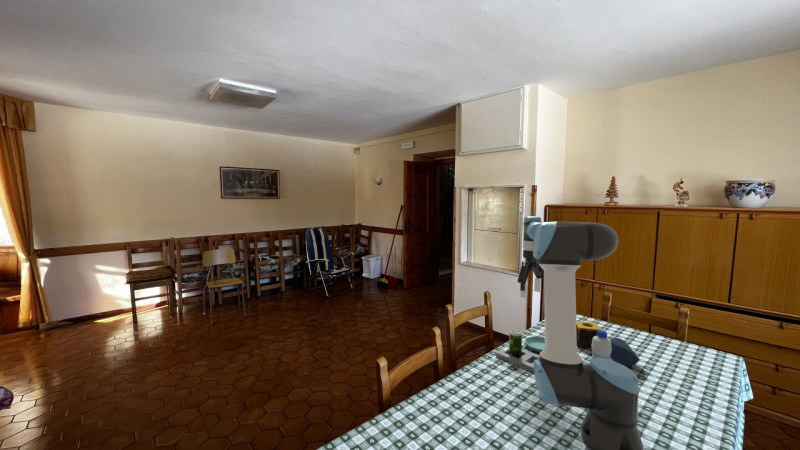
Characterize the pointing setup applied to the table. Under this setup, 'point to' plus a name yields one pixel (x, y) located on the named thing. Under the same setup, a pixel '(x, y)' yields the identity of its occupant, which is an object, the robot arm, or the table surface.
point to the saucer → (536, 343)
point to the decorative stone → (622, 353)
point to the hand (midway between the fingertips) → (530, 294)
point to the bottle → (601, 346)
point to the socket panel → (520, 361)
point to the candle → (586, 333)
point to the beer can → (515, 343)
